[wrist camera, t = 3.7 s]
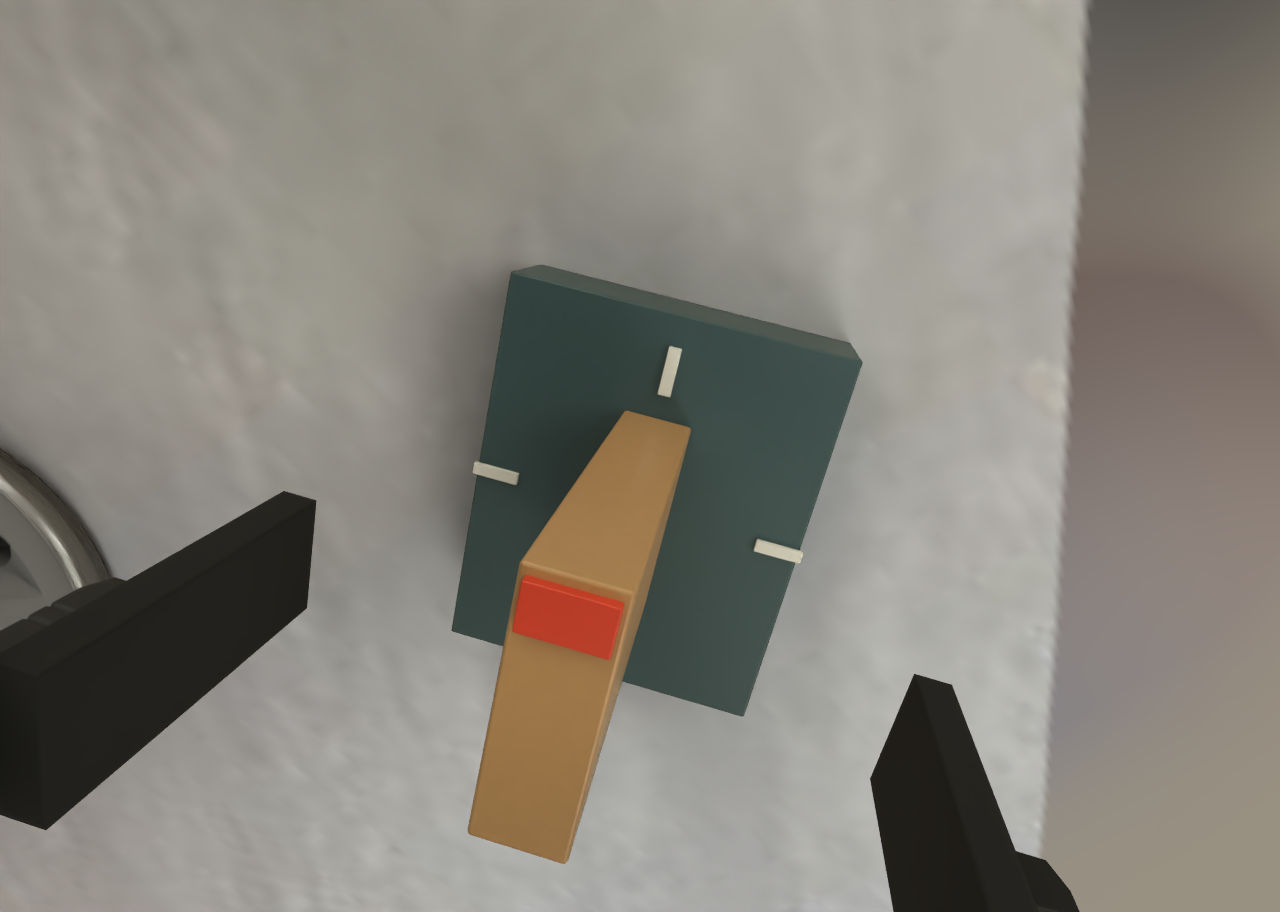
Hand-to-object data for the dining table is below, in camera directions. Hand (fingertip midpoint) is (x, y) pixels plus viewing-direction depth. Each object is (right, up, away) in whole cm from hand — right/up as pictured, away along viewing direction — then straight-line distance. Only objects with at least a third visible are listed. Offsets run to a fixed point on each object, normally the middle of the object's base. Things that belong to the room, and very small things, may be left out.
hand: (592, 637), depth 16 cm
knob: (+1, +2, +7) cm, 7 cm away
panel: (+1, +3, +10) cm, 10 cm away
